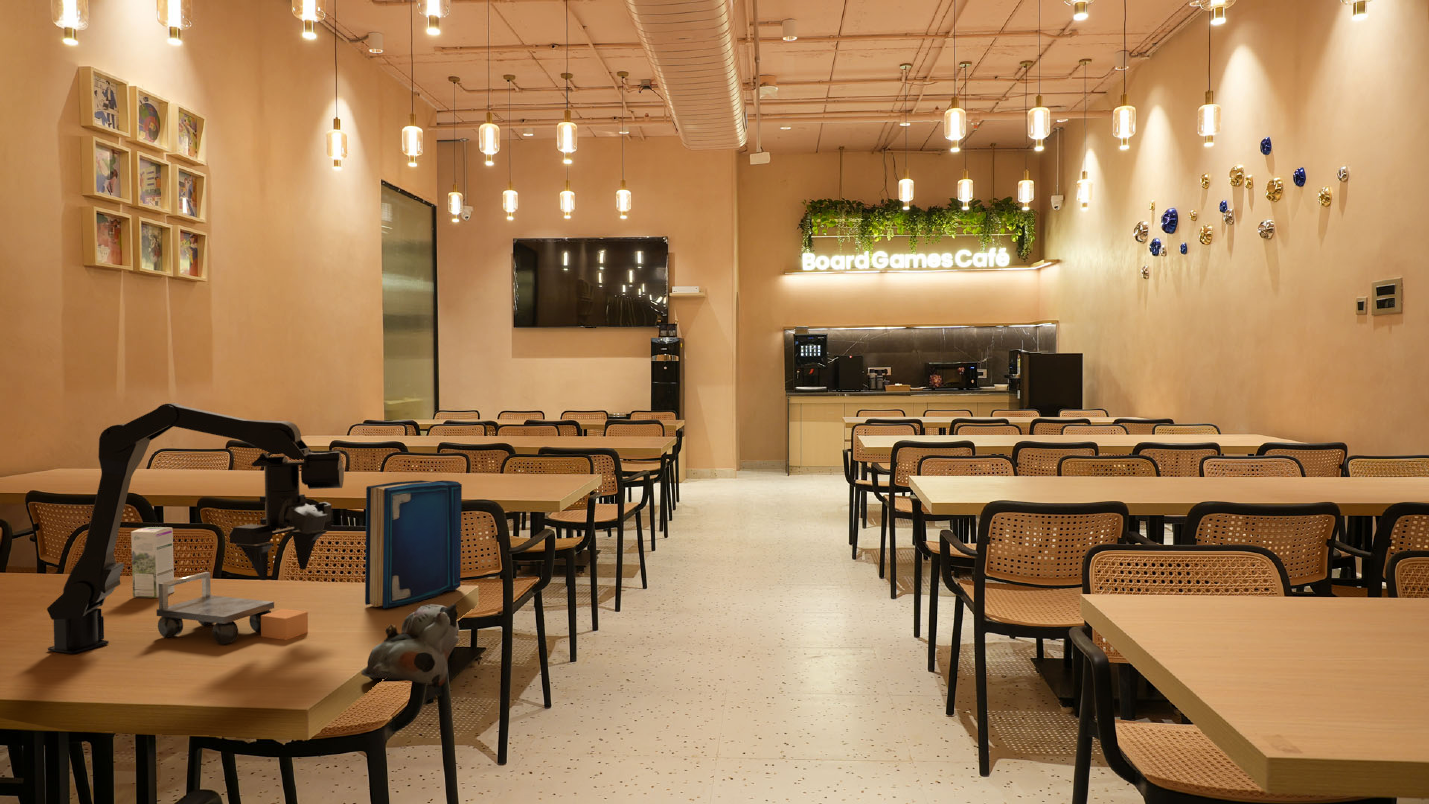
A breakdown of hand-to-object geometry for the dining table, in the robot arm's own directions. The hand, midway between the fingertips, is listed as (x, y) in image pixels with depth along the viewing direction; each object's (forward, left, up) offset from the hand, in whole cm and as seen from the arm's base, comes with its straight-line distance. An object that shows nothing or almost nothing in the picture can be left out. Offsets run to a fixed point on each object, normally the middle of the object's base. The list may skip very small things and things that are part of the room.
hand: (283, 574), depth 163 cm
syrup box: (+14, +50, -11) cm, 53 cm away
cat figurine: (-14, -38, -11) cm, 42 cm away
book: (+30, -6, -11) cm, 32 cm away
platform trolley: (-4, +12, -11) cm, 17 cm away
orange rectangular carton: (0, 0, -11) cm, 11 cm away
